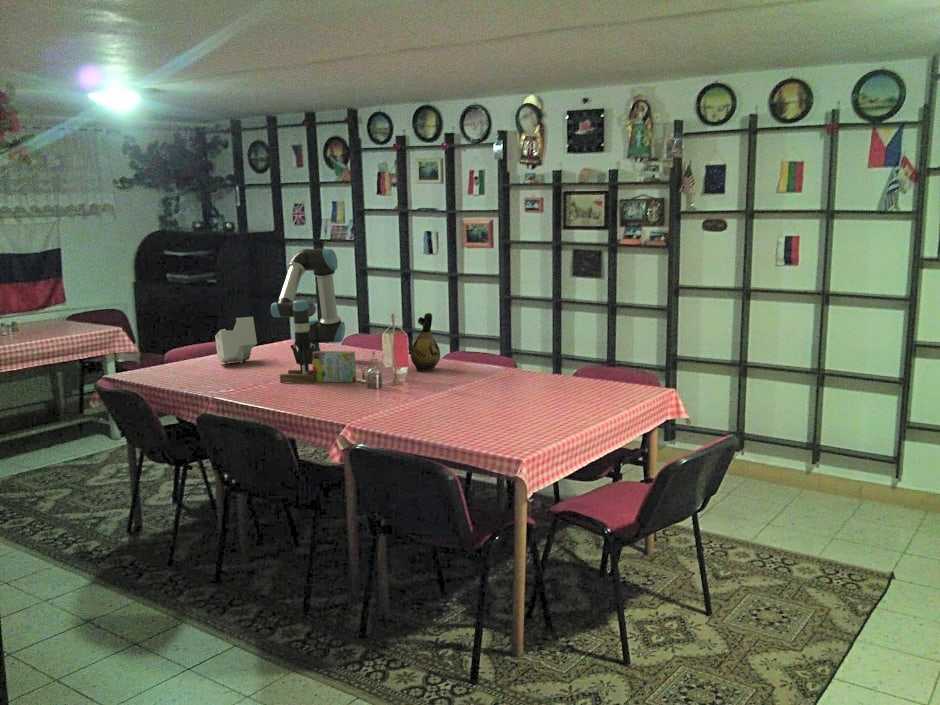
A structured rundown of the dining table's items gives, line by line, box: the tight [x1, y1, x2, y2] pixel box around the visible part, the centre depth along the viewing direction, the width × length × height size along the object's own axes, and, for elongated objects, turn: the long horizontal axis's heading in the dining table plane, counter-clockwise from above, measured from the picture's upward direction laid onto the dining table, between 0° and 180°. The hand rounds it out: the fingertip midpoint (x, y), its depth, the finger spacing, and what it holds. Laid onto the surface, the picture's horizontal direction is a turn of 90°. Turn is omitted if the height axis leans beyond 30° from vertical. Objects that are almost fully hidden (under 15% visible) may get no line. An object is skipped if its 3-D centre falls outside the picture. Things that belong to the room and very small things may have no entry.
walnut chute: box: [279, 369, 317, 384], centre depth 426 cm, size 13×18×4 cm
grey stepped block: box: [214, 316, 258, 365], centre depth 475 cm, size 20×16×25 cm
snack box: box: [311, 350, 357, 383], centre depth 420 cm, size 21×6×15 cm, turn 77°
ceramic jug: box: [410, 312, 441, 373], centre depth 441 cm, size 17×15×30 cm
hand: (305, 377), depth 425 cm, fingers closed
